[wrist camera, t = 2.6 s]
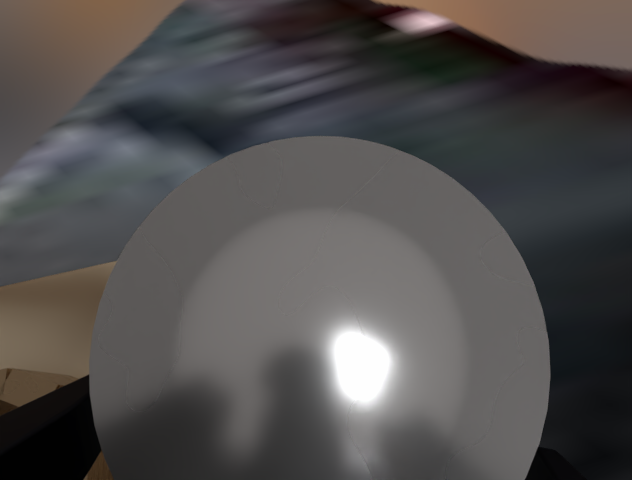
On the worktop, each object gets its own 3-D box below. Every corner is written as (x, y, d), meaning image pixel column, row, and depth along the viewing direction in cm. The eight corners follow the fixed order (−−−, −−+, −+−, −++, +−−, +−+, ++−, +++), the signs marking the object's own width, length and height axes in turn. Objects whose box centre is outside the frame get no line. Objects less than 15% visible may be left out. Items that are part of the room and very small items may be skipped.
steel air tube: (391, 428, 15) (680, 528, 3) (287, 456, 15) (56, 719, 2) (361, 325, 17) (445, 99, 5) (269, 348, 17) (91, 172, 4)
